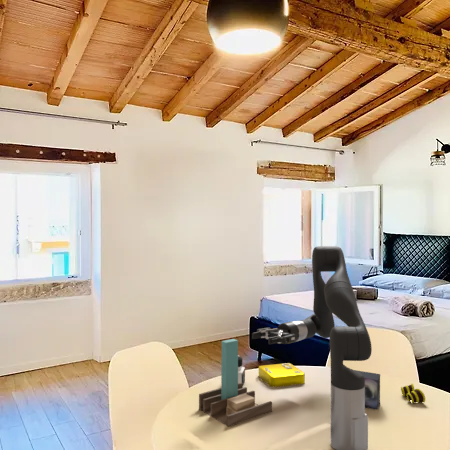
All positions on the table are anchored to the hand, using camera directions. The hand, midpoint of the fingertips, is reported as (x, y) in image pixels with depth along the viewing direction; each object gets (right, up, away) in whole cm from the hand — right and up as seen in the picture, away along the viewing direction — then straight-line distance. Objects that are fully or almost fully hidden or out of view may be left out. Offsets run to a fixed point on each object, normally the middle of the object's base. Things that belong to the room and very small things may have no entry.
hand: (260, 338), depth 154 cm
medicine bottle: (-9, -22, +13) cm, 27 cm away
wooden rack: (-9, -22, -11) cm, 26 cm away
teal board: (-11, -21, -9) cm, 25 cm away
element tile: (+10, -23, +23) cm, 34 cm away
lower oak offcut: (-7, -21, -14) cm, 26 cm away
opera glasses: (+54, -23, +2) cm, 59 cm away
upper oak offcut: (-7, -18, -14) cm, 24 cm away
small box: (+35, -23, -2) cm, 42 cm away
